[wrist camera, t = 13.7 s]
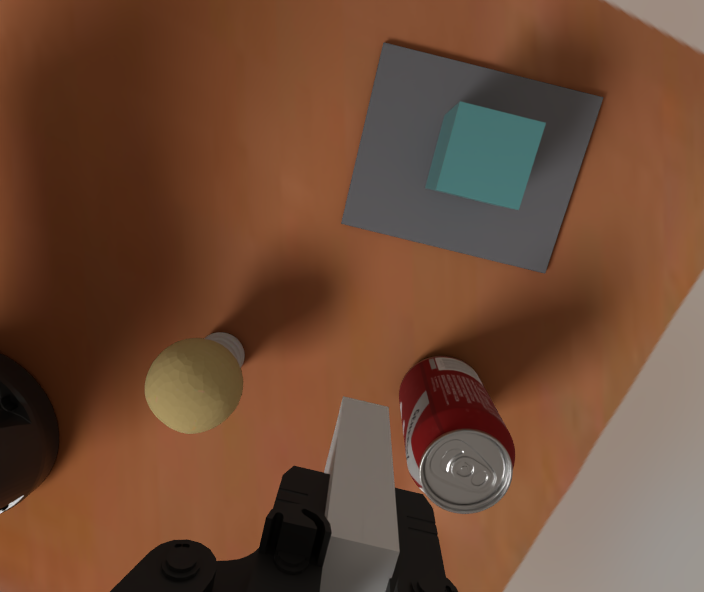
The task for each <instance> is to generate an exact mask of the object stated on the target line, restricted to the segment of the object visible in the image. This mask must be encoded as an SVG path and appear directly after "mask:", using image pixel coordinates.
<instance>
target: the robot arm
mask: <svg viewBox="0 0 704 592" xmlns="http://www.w3.org/2000/svg"><path fill="white" fill-rule="evenodd" d="M58 445H59V431H58V424H57V420H56V416H55V413H54V410H53V408H52V405H51V403H50V401H49V399H48V397H47V396H46V394H45V392H44V391H43V389H42V388H41V386H40V385H39V384H38V383H37V381H36V380H35V379H34V378H33V377H32V376H31V375H30V374H29V373H28V372H27V371H26V370H25V369H24V368H22V367H21V366H20V365H18V364H17V363H16V362H14V361H13V360H11V359H10V358H8V357H6V356H4V355H2V354H0V513H3V512H5V511H7V510H9V509H11V508H12V507H14V506H15V505H17V504H18V503H20V502H21V501H22V500H23V499H25V498H26V497H27V496H28V495H29V494H30V493H31V492H32V491H34V490H35V489H36V488H37V487H38V486H39V485H40V484H41V483H42V482H43V481H44V480H45V478H46V477H47V476H48V474H49V473H50V471H51V469H52V467H53V465H54V462H55V460H56V456H57V452H58ZM437 534H438V533H437V528H436V525H435V517H434V512H433V508H432V507H431V505H430V504H429V502H428V501H427V499H426V498H425V497H424V495H423V494H419V493H415V492H411V491H406V490H402V489H398V488H395V485H394V472H393V460H392V447H391V434H390V421H389V408H388V407H386V406H382V405H378V404H373V403H369V402H365V401H361V400H356V399H352V398H348V397H344V396H343V399H342V403H341V407H340V411H339V415H338V419H337V423H336V427H335V431H334V435H333V439H332V443H331V447H330V451H329V455H328V459H327V463H326V467H325V471H324V473H323V472H319V471H314V470H310V469H306V468H301V467H297V466H293V467H292V468H291V469H289V470H288V471H287V472H286V473H285V474H284V475H283V477H282V480H281V483H280V487H279V490H278V493H277V497H276V501H275V504H274V507H273V509H272V510H271V511H270V512H269V514H268V515H267V517H266V520H265V525H264V529H263V534H262V538H261V542H260V547H259V548H258V549H257V550H256V551H255V552H254V553H252V554H250V555H249V556H247V557H244V558H241V559H237V560H229V561H216V558H215V556H214V555H213V553H212V552H211V550H210V549H209V548H207V547H206V546H204V545H203V544H201V543H198V542H195V541H191V540H173V541H169V542H166V543H163V544H160V545H159V546H157V547H156V548H155V549H153V550H152V551H150V552H149V553H148V554H147V555H146V556H145V557H144V558H143V559H142V560H141V561H140V562H139V563H138V564H137V565H136V566H135V567H134V568H133V569H132V570H131V571H130V572H129V573H128V574H127V575H126V576H125V577H124V578H123V579H122V580H121V581H120V582H119V583H118V584H117V585H116V586H115V587H114V588H113V589H112V590H111V591H110V592H458V590H457V588H456V587H455V586H454V585H453V584H452V583H451V581H450V580H449V579H448V578H446V576H445V570H444V565H443V560H442V555H441V549H440V544H439V539H438V537H437Z"/></svg>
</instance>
